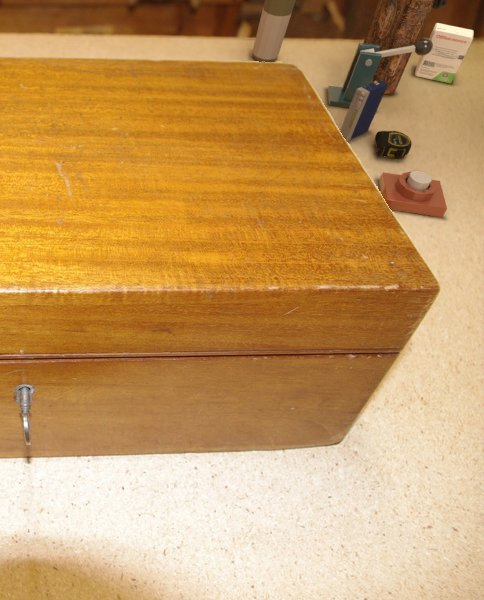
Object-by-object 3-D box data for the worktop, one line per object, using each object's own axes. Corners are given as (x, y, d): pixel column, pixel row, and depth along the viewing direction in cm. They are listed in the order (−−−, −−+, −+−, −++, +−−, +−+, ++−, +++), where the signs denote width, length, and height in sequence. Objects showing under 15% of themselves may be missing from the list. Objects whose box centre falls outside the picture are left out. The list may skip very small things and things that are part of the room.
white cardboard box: (452, 75, 173) (475, 29, 164) (450, 84, 170) (474, 38, 161) (415, 66, 175) (436, 21, 167) (413, 76, 172) (434, 30, 164)
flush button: (426, 179, 138) (430, 172, 137) (429, 192, 135) (433, 184, 134) (405, 176, 139) (408, 169, 137) (407, 188, 136) (411, 181, 135)
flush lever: (431, 48, 153) (432, 33, 151) (433, 56, 151) (434, 41, 149) (360, 61, 159) (359, 46, 157) (361, 69, 157) (361, 54, 154)
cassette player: (359, 127, 157) (379, 78, 148) (367, 132, 155) (388, 83, 147) (336, 136, 154) (356, 87, 145) (345, 142, 153) (365, 92, 144)
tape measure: (371, 141, 153) (378, 126, 150) (405, 146, 152) (412, 132, 149) (373, 159, 148) (379, 144, 146) (407, 165, 147) (414, 150, 144)
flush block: (435, 189, 142) (444, 173, 139) (442, 217, 136) (451, 201, 133) (378, 180, 143) (386, 164, 140) (383, 208, 137) (391, 192, 134)
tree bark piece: (395, 96, 166) (442, -10, 147) (372, 94, 166) (416, -12, 148) (378, 61, 177) (420, -41, 159) (356, 60, 177) (395, -43, 159)
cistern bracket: (371, 95, 166) (392, 44, 156) (373, 111, 161) (396, 59, 152) (327, 89, 167) (346, 38, 158) (328, 105, 163) (348, 53, 153)
